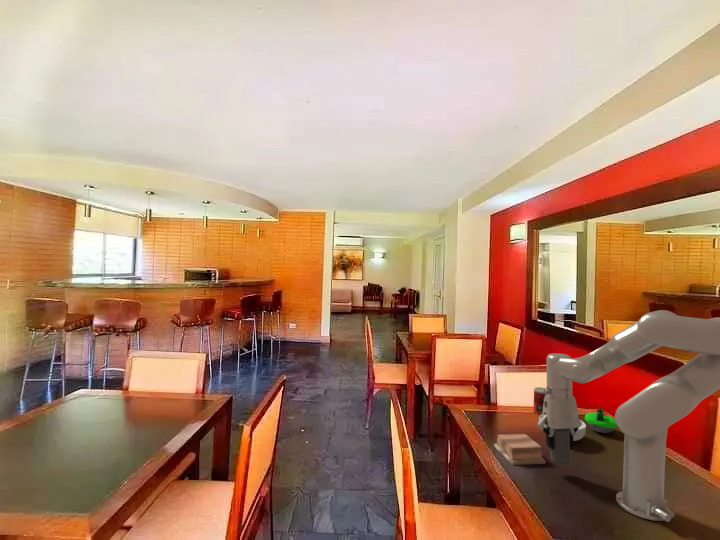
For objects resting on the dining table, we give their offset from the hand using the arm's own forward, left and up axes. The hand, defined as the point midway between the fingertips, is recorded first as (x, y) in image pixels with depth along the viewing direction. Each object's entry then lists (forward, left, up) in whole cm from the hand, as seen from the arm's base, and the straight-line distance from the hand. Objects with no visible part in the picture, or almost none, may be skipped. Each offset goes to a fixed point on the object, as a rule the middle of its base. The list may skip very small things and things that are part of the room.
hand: (559, 446), depth 129 cm
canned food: (+52, -26, -9) cm, 59 cm away
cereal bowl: (+26, -19, -9) cm, 33 cm away
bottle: (0, 0, -5) cm, 5 cm away
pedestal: (+14, +6, -9) cm, 18 cm away
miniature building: (+31, -39, -9) cm, 51 cm away
